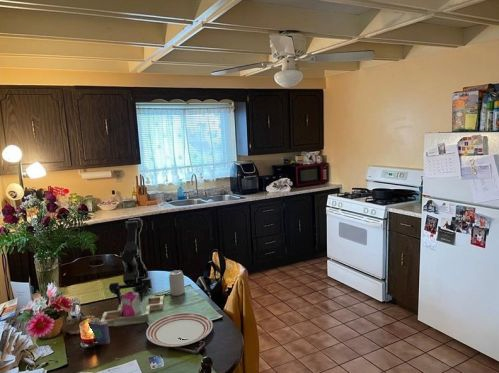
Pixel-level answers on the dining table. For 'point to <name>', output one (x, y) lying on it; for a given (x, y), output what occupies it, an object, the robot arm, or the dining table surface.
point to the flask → (100, 331)
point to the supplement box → (131, 304)
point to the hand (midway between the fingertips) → (130, 303)
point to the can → (176, 283)
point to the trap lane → (117, 320)
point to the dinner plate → (179, 329)
